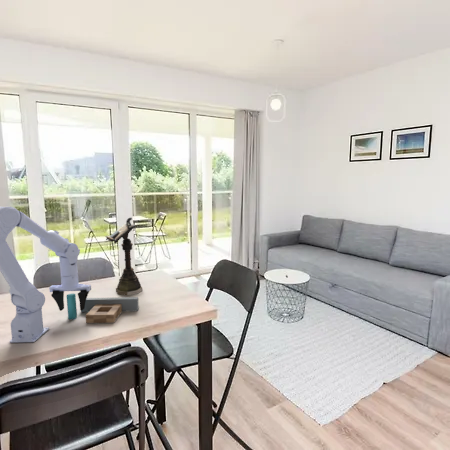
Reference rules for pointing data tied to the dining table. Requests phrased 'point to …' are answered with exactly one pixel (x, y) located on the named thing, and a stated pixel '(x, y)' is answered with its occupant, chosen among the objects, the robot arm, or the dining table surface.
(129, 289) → the dark bronze tall stand
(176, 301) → the dining table surface
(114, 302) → the backstop wall
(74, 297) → the dowel
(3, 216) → the robot arm
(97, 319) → the wooden square frame
